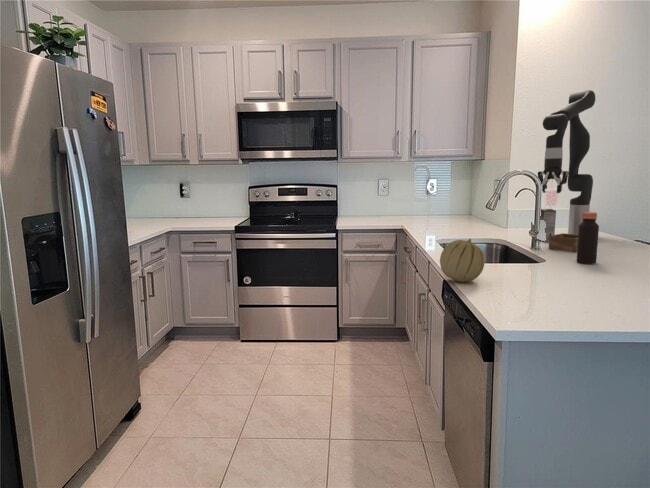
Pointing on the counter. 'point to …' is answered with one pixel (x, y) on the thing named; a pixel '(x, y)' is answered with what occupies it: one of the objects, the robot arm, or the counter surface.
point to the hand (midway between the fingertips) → (551, 192)
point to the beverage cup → (551, 197)
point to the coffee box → (548, 222)
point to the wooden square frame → (564, 242)
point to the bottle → (588, 239)
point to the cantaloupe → (462, 261)
